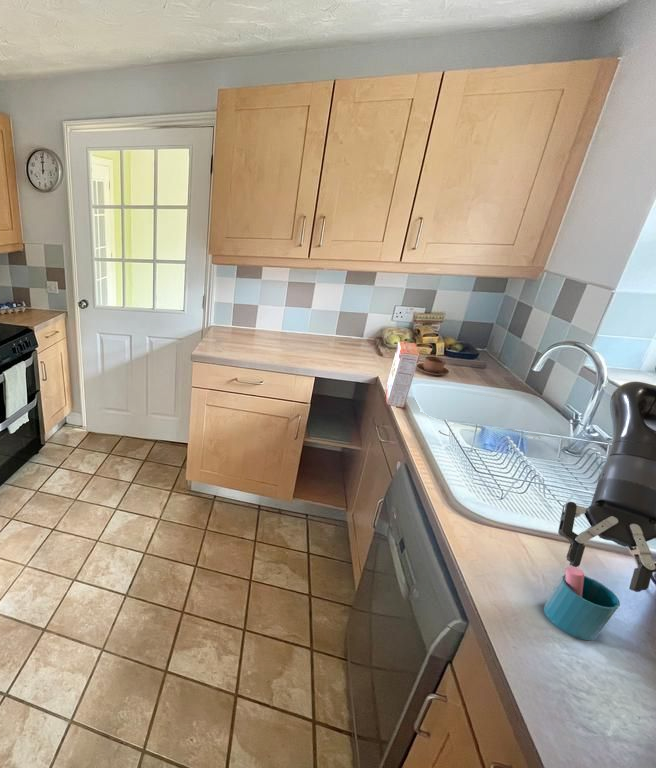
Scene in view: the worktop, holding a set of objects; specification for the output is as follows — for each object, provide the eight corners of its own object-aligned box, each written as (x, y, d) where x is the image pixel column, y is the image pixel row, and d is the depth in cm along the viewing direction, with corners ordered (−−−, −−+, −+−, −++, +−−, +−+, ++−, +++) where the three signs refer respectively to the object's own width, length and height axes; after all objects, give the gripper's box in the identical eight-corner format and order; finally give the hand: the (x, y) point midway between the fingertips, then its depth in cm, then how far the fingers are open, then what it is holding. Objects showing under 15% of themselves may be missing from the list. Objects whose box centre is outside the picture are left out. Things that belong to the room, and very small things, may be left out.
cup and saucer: (419, 365, 189) (423, 352, 187) (450, 372, 182) (455, 359, 179) (412, 372, 182) (416, 358, 179) (443, 380, 174) (448, 366, 171)
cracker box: (383, 390, 163) (398, 340, 155) (401, 393, 161) (417, 343, 152) (385, 405, 152) (401, 351, 143) (404, 408, 150) (421, 354, 141)
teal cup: (587, 613, 76) (608, 582, 73) (604, 647, 70) (628, 615, 67) (538, 597, 79) (556, 567, 76) (551, 629, 73) (571, 597, 70)
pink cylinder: (576, 614, 75) (581, 568, 73) (581, 624, 73) (586, 576, 71) (560, 612, 76) (564, 565, 74) (564, 621, 74) (569, 574, 72)
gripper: (580, 464, 73) (552, 552, 70) (708, 502, 64) (682, 604, 61) (566, 475, 79) (540, 556, 76) (681, 511, 70) (657, 604, 67)
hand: (603, 577), depth 68 cm, fingers open, 6 cm apart
